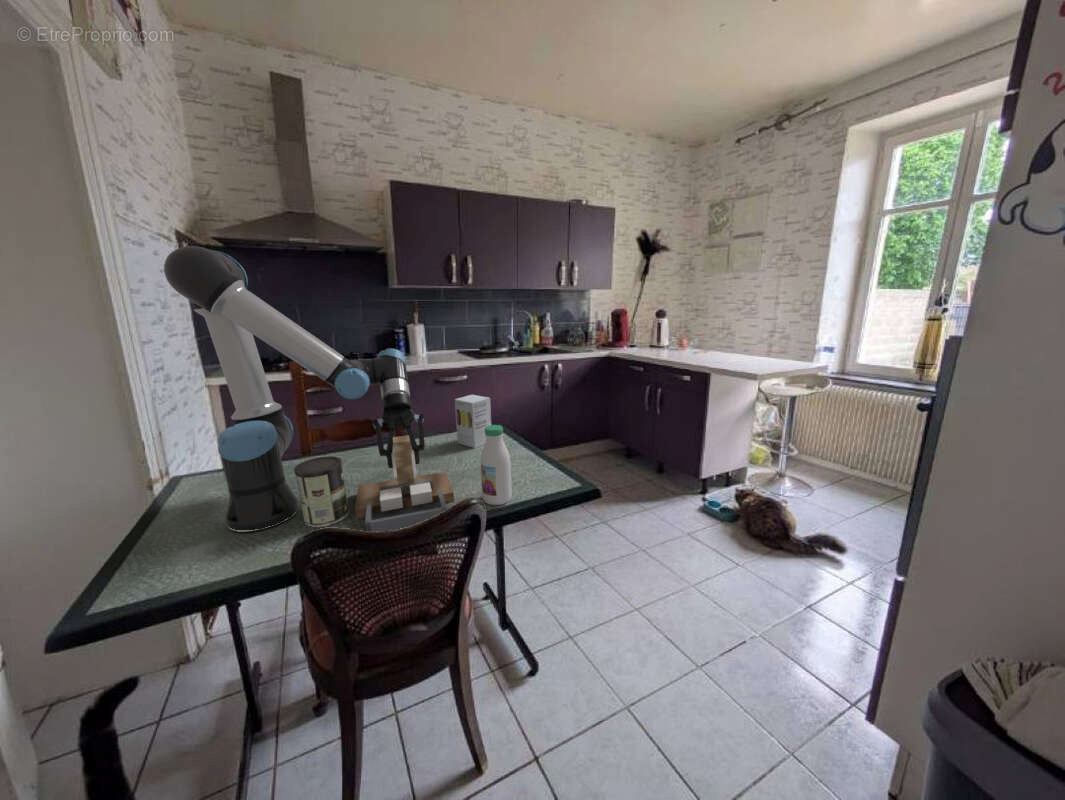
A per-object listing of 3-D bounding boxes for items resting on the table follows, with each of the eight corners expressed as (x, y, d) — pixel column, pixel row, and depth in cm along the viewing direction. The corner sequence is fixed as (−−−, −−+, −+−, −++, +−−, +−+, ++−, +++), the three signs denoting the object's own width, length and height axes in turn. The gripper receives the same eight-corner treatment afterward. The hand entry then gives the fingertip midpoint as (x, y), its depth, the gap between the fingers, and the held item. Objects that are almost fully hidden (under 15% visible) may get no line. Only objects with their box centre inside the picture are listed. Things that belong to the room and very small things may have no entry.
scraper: (380, 498, 104) (374, 448, 99) (380, 488, 109) (374, 439, 104) (433, 489, 108) (428, 440, 104) (430, 480, 113) (426, 432, 109)
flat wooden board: (356, 518, 101) (354, 509, 100) (359, 493, 114) (358, 485, 113) (454, 501, 108) (453, 492, 108) (446, 479, 121) (446, 471, 121)
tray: (367, 539, 92) (365, 523, 91) (369, 516, 102) (367, 501, 101) (448, 523, 98) (446, 508, 97) (442, 503, 107) (441, 489, 106)
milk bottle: (506, 489, 114) (503, 421, 109) (515, 502, 107) (512, 429, 102) (479, 495, 111) (475, 425, 106) (487, 508, 104) (482, 434, 99)
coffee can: (341, 502, 109) (333, 452, 106) (355, 516, 102) (347, 463, 99) (298, 516, 103) (288, 464, 99) (310, 533, 95) (300, 477, 92)
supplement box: (456, 443, 150) (453, 399, 146) (474, 436, 158) (471, 393, 153) (475, 448, 145) (472, 402, 141) (493, 441, 152) (490, 397, 148)
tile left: (381, 511, 99) (380, 500, 98) (381, 501, 104) (379, 490, 103) (403, 507, 101) (401, 496, 100) (401, 497, 106) (400, 487, 105)
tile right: (412, 505, 102) (411, 495, 101) (410, 495, 106) (409, 485, 105) (432, 501, 103) (431, 491, 102) (430, 492, 108) (429, 482, 107)
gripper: (427, 402, 120) (439, 477, 109) (364, 408, 115) (371, 488, 104) (427, 388, 114) (440, 466, 103) (361, 394, 108) (367, 477, 98)
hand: (405, 477), depth 104 cm, fingers closed on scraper, 4 cm apart
